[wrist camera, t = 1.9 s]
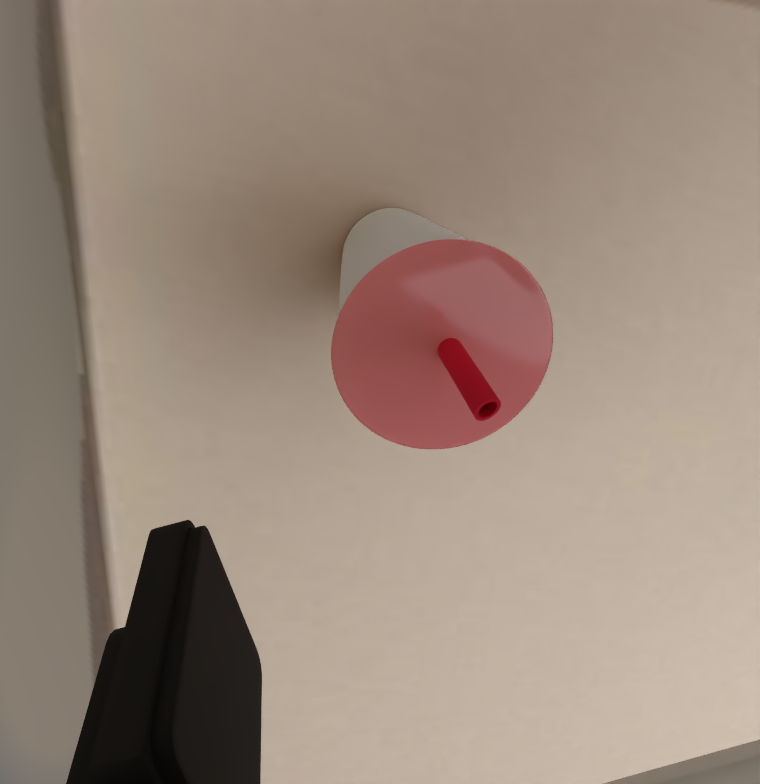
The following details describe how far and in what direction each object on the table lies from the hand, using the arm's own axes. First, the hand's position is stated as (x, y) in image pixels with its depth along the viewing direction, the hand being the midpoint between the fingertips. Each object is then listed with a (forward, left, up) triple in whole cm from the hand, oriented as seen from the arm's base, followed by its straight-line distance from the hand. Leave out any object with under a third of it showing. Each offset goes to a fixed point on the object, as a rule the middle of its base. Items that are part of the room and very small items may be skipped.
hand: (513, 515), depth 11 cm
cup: (0, 0, -16) cm, 16 cm away
